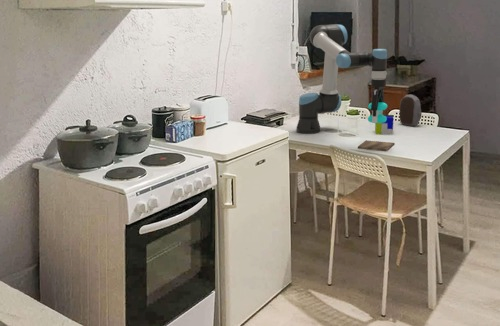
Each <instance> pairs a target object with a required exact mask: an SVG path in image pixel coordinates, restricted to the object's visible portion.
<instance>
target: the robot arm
mask: <svg viewBox="0 0 500 326" xmlns="http://www.w3.org/2000/svg"><path fill="white" fill-rule="evenodd" d="M309 41H310V44H312V46H314V47H315V48H317V49H321V51H323V52H324V62H323V76H322V77H323V78H322V85H321V86H322V88H321V89H320V90H319V94H318V93H317V92H308V93H304V94H301V95H299V99H298V113H299V114H298V122H297V123H296V124H297V125H296V130H295V131H296V133H299V132H300V133H299V134H319V133H320V132H321V130H322V129H321V124H320V121H319V115H320V114H327V113H328V114H329V113H330V114H331V113H336V112H337V111H339V110H340V108H341V106H342V96H341V94H339V91H338V90H337V83H338V72H339V68H340V69H348V68H349V69H350V68H361V67H364V68H365V67H371V82H370V86H371V87H372V88H374V89H373V90H372V96H371V97H372V98H371V103H372V106H371V109H370V110H371V115H372V122H377V117H378V114H380V115H384V114H383V113H384V110H382V111H378V110H377V107H378V102H382V103H385V97H384V95H385V94H384V92H385V91H384V90H385V88H384V87H386V84H387V80H386V78H387V75H388V72H387V63H388V61H387V60H388V50H387V49H386V48H374V49H372V52H371V51H361V52H350V51H348V50H347V49H345V48H344V47H343V45H345V44H346V43H347V42H348V31H347V28H346V27H345V26H344V25H343V24H337V23H335V24H332V23H331V24H320V25H316V26H314V27H313V28H312V29H311V31H310V32H309ZM372 122H371V123H372Z"/></svg>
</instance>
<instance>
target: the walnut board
mask: <svg viewBox="0 0 500 326" xmlns="http://www.w3.org/2000/svg"><path fill="white" fill-rule="evenodd" d="M393 146H395V142H388V141H379V140H378V141H377V140H364V141H363V142H362V143H361V144H359V145H358V146H357V149H361V150H371V151H372V150H373V151H381V152H388V151H389V150H390V149H392V147H393Z"/></svg>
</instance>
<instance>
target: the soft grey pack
mask: <svg viewBox="0 0 500 326" xmlns="http://www.w3.org/2000/svg"><path fill="white" fill-rule="evenodd" d="M421 105H422V104H421V101H420V99H419V97H417V96H416V95H415V94H406V95H405V96H403V97H402V98H401V99H400V102H399V112H398V113H399V121H400V124H402V125H403V126H404V125H405V126H417V125H419V123H420V121H421V118H422V115H423V114H422V106H421Z"/></svg>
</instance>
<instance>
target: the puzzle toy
mask: <svg viewBox="0 0 500 326" xmlns="http://www.w3.org/2000/svg"><path fill="white" fill-rule="evenodd" d="M383 115H384V116H386V118H387V120H386V122H383V123H374V124H375V125H374V126H375V127H374V129H375V130H374V133H375V135H393V134H394V133H393V132H394V116H393V114H383Z"/></svg>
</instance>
